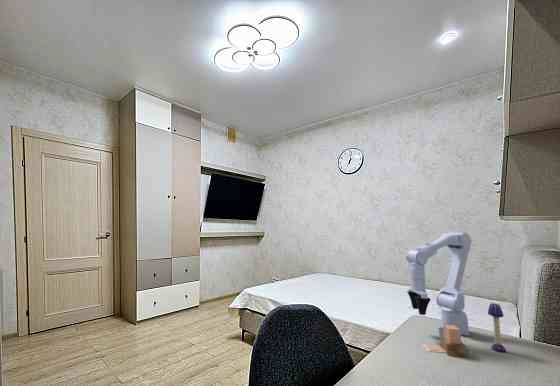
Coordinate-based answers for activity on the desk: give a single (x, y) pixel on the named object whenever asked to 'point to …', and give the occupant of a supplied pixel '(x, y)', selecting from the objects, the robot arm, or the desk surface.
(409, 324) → the desk surface
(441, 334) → the slate grey block
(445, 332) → the terracotta block
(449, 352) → the walnut base block
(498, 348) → the toy lamp
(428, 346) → the terracotta swatch tile
